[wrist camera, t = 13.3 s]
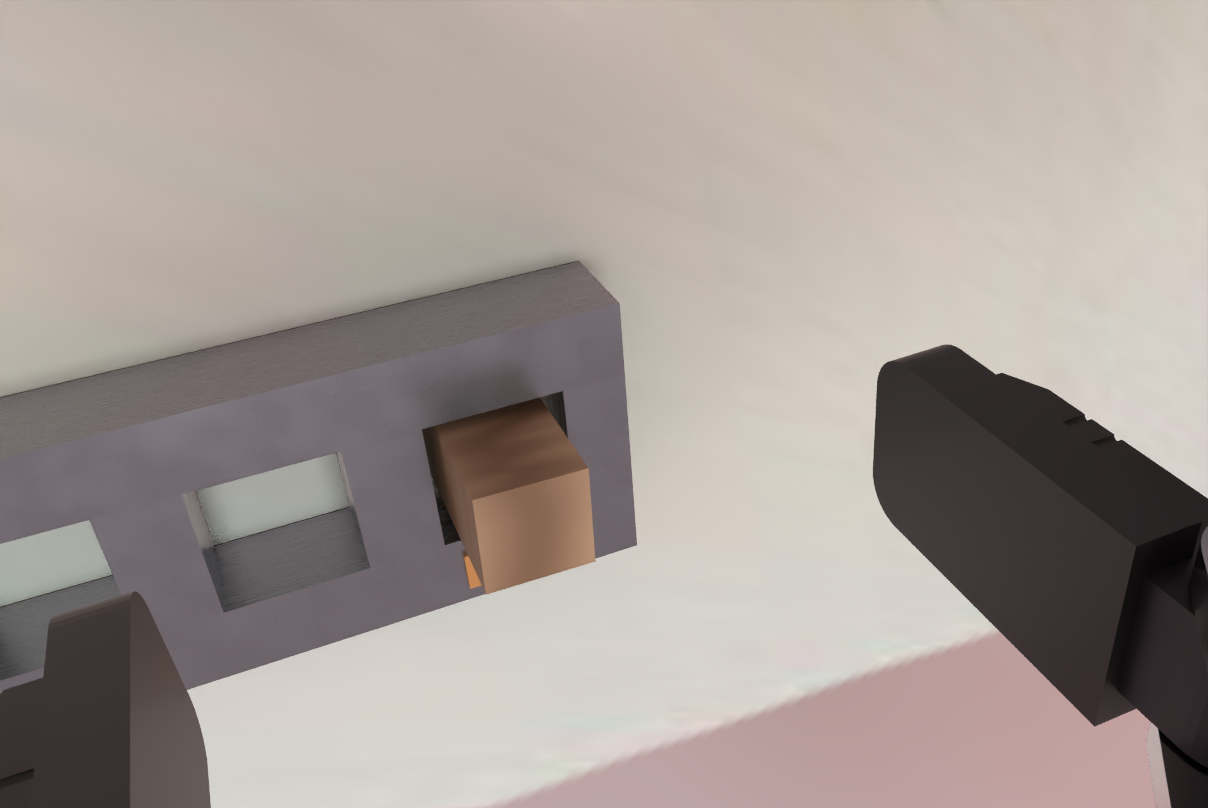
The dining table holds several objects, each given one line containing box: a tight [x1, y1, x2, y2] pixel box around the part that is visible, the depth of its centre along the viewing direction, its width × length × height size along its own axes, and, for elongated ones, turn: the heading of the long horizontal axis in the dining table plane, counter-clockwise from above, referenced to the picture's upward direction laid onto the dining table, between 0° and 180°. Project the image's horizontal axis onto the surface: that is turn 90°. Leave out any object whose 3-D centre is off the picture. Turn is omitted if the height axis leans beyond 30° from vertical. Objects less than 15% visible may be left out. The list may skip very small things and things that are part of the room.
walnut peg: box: [422, 397, 595, 594], centre depth 39 cm, size 4×4×8 cm
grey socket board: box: [0, 261, 637, 695], centre depth 38 cm, size 26×11×4 cm, turn 94°
